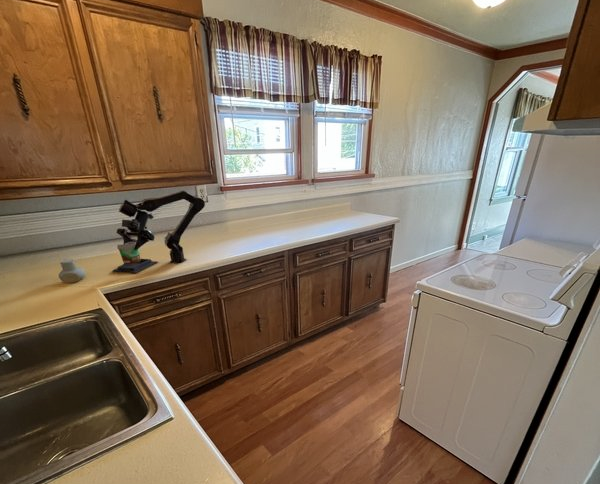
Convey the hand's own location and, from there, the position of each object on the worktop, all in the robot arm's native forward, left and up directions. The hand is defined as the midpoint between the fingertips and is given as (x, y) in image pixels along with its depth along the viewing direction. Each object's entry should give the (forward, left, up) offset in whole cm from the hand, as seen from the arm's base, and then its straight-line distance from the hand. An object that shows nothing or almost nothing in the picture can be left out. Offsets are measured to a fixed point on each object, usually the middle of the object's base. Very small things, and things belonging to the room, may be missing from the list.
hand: (130, 249), depth 161 cm
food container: (0, -1, -7) cm, 7 cm away
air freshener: (+23, +16, -13) cm, 30 cm away
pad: (+7, -8, -12) cm, 16 cm away
